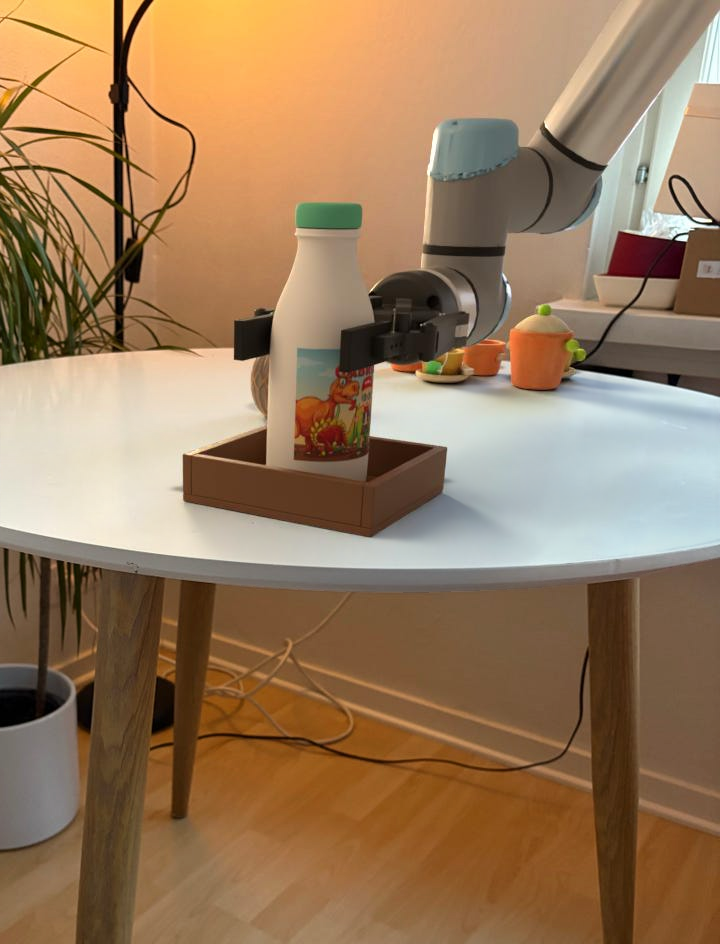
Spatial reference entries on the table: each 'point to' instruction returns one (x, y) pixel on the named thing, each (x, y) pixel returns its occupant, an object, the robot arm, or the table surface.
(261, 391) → the vase
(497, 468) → the table surface
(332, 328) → the milk bottle
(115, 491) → the table surface
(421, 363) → the toy tea set
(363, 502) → the tray
